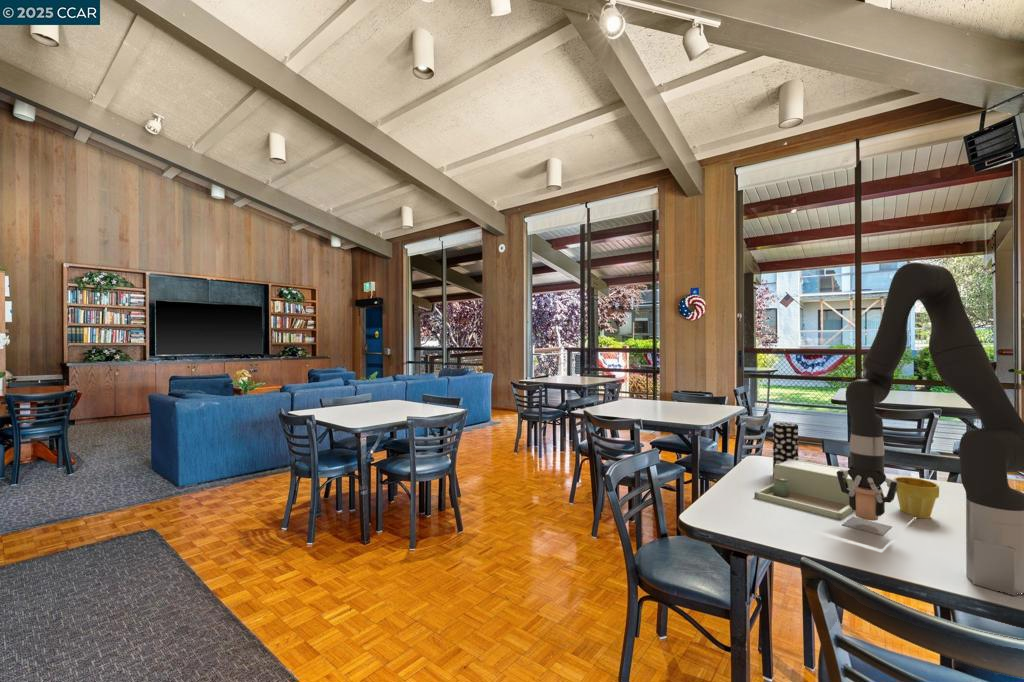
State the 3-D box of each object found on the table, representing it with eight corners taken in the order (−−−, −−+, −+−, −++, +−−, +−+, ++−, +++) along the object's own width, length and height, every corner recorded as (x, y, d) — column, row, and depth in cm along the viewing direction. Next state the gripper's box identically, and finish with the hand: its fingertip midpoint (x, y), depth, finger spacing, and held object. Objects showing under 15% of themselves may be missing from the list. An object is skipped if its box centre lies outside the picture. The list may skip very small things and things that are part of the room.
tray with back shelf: (841, 522, 132) (840, 490, 132) (754, 499, 151) (754, 472, 151) (869, 500, 149) (869, 473, 149) (789, 483, 168) (788, 458, 168)
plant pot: (948, 522, 131) (948, 488, 131) (907, 520, 133) (906, 486, 133) (924, 509, 141) (924, 477, 141) (885, 507, 144) (885, 475, 143)
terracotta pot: (876, 522, 123) (876, 486, 123) (850, 516, 128) (850, 481, 128) (882, 517, 127) (882, 482, 127) (857, 511, 131) (857, 477, 131)
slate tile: (882, 538, 121) (882, 535, 121) (841, 528, 128) (841, 524, 128) (891, 529, 126) (891, 526, 126) (852, 519, 134) (852, 516, 134)
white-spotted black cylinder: (794, 474, 178) (794, 422, 178) (801, 480, 170) (801, 426, 170) (770, 472, 181) (770, 422, 181) (776, 479, 173) (776, 425, 173)
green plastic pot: (787, 497, 150) (787, 481, 150) (772, 494, 153) (772, 479, 153) (789, 494, 153) (790, 479, 153) (774, 491, 156) (775, 476, 156)
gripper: (831, 448, 131) (831, 508, 131) (895, 458, 119) (895, 524, 119) (840, 444, 135) (840, 502, 135) (903, 454, 124) (903, 517, 124)
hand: (866, 512), depth 127 cm, fingers closed on terracotta pot, 5 cm apart
